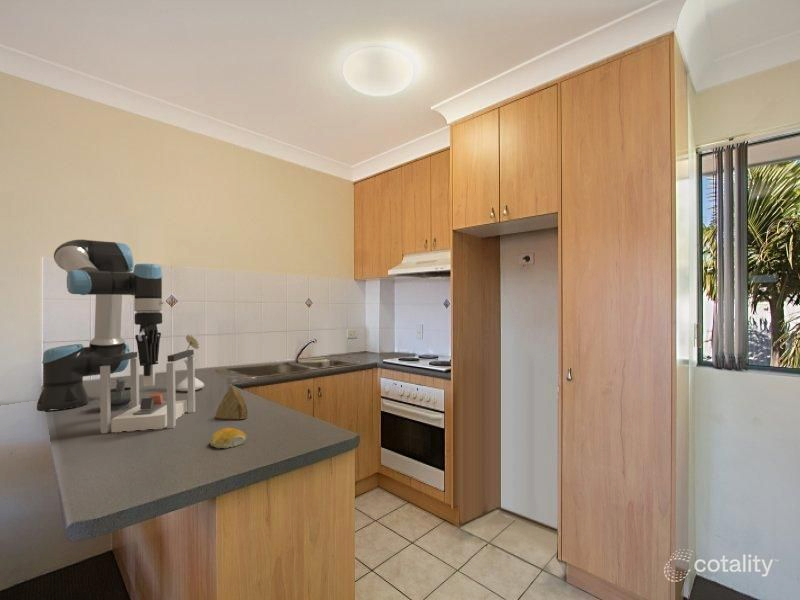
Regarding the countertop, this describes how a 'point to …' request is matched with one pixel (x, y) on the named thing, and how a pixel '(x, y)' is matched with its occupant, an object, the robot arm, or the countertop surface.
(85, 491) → the countertop surface
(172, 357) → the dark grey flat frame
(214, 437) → the bread roll
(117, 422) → the white grey open frame
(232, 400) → the rock
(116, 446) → the countertop surface
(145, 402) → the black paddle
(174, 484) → the countertop surface
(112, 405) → the mortar and pestle
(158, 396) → the terracotta block
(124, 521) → the countertop surface
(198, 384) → the flower in vase
